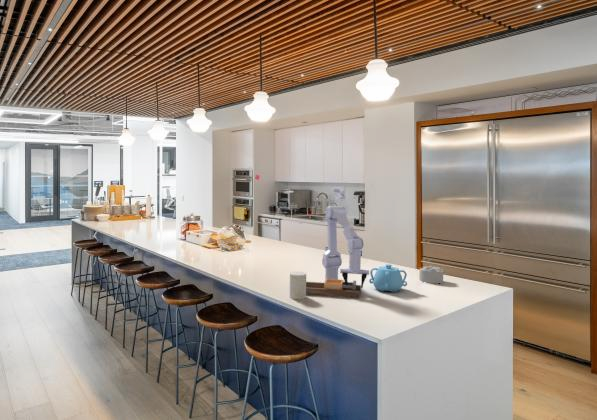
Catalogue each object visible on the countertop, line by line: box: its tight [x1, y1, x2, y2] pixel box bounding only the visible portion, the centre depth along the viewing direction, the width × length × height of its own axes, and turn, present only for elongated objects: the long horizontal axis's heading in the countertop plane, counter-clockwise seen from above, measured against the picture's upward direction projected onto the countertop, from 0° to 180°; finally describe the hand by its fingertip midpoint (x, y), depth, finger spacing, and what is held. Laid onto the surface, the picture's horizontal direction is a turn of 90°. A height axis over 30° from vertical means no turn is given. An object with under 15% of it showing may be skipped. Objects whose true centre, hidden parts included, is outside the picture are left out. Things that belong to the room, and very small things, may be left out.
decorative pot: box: [368, 263, 408, 293], centre depth 227 cm, size 16×16×14 cm
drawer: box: [323, 278, 357, 291], centre depth 218 cm, size 9×16×5 cm, turn 78°
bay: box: [306, 281, 362, 299], centre depth 219 cm, size 13×34×7 cm, turn 78°
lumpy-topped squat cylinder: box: [418, 265, 444, 284], centre depth 246 cm, size 10×13×9 cm
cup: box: [289, 271, 307, 300], centre depth 210 cm, size 8×8×12 cm
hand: (354, 287), depth 217 cm, fingers open, 7 cm apart
